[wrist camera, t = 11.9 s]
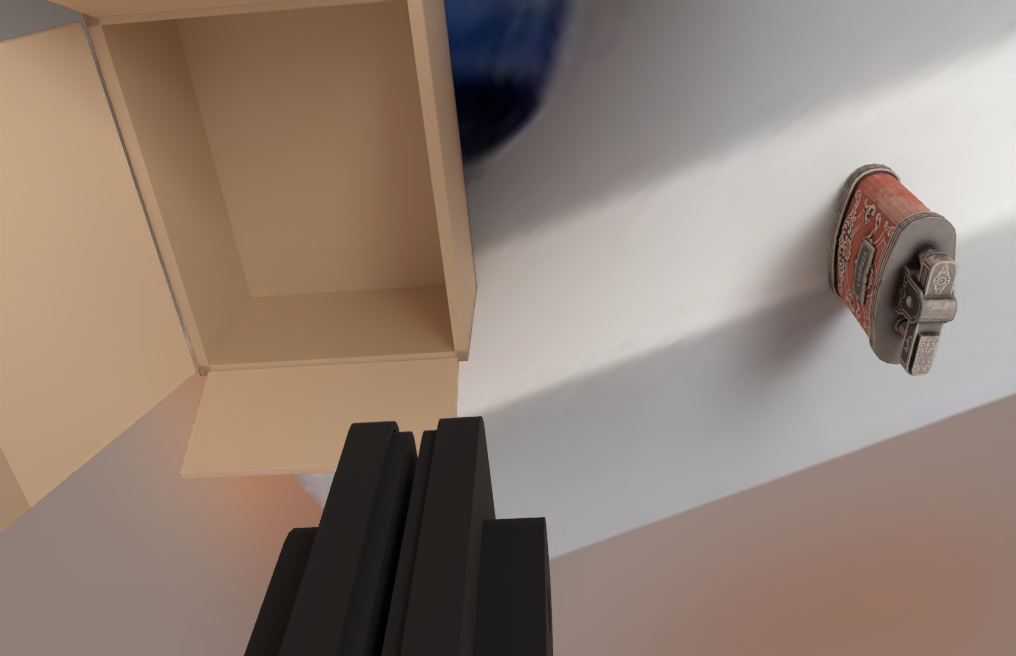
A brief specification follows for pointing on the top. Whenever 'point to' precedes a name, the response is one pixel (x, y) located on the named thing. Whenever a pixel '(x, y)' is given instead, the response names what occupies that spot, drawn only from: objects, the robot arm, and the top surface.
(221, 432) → the carton
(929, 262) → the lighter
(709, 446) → the top surface
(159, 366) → the lid flap
